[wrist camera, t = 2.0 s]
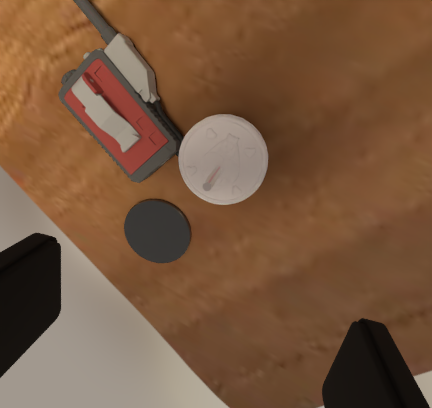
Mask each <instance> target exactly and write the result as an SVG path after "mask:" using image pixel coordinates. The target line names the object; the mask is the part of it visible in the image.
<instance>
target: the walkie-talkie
mask: <svg viewBox="0 0 432 408" xmlns="http://www.w3.org/2000/svg"><path fill="white" fill-rule="evenodd" d="M74 2H75V3H76V4H77V5H78V7H79V8H80V9H81V10H82V11H83V13H84V14H85V15H86V16H87V18H88V19H89V20H90V21H91V22H92V24H93V25H94V26H95V27H96V29H97V30H98V31H99V32H100V34H101V37H102V38H103V40H104V41H105V42H106V43H107V45H108V46H107V47H106V48H105V49H104V51H103V49H102V48H99V49H98V50H97V49H95V50H94V51H93V52H92V53H90V52H87V53H86V54H85V55H84V56H83V58H84V59H85V60H84V61H83V62H82V64H81V65H80V66H79V67H78V69H77V70H75V69H74V70H71V71H69V72H67V73H66V74H65V75H64V76H63V78H62V82H61V83H62V84H63V87H62V88H61V89H60V91H59V99H60V101H61V102H62V103H63V104H64V105H65V106H66V107H67V109H68V110H69V111H70V112H71V113H72V114H73V115H74V117H75V118H76V119H77V120H78V121H79V122H80V123H81V124H82V126H83V127H84V128H85V129H86V130H87V131H88V132H89V133H90V135H92V136H93V137H94V139H95V140H97V141H98V144H100V145H101V146H102V148H104V149H105V152H106V153H108V154H109V156H110V157H112V159H113V161H115V162H116V163H117V165H119V166H120V168H121V169H122V170H123V171H124V173H126V174H127V175H128V178H130V179H131V181H133V182H137V183H140V182H142V181H143V180H145V179H146V178H148V177H149V176H150V175H152V174H153V173H154V172H155V171H156V170H157V169H158V168H160V167H161V166H162V165H163V164H164V163H165V162H166V161H168V160H169V159H170V158H171V157H172V156H173V155H175V154H176V155H177V156H178V157H179V150H180V146H181V143H182V141H183V139H184V137H183V136H182V135H181V133H180V132H179V131H178V130H177V129H176V127H175V126H174V125H173V124H172V122H171V121H170V120H169V119H168V118H167V116H166V115H165V114H164V112H163V110H162V107H161V104H160V102H159V100H160V98H159V97H158V95H157V92H156V83H155V75H154V72H153V70H152V69H151V68H150V67H149V65H148V64H147V63H146V62H145V60H144V59H143V58H142V57H141V55H140V54H139V53H138V52H137V50H136V49H135V48H134V47H133V43H132V42H131V40H130V39H129V38H128V37H127V36H125V35H123V34H121V33H119V34H117V33H116V32H115V31H114V29H113V28H112V27H109V26H108V24H107V23H106V22H105V21H104V19H103V18H102V17H101V16H100V14H99V13H98V12H97V11H96V10H95V8H94V7H93V6H92V5H91V3H90V2H89V1H88V0H74ZM155 105H156V106H155Z"/></svg>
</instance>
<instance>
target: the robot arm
mask: <svg viewBox="0 0 432 408" xmlns="http://www.w3.org/2000/svg"><path fill="white" fill-rule="evenodd" d="M60 311H61V246H60V244H59V243H57V240H56V238H55V237H52V236H48V235H45V234H40V233H34V234H32V235H30V236H28V237H26V238H25V239H23V240H21V241H20V242H18V243H16V244H14V245H12V246H11V247H9V248H7V249H5V250H4V251H2V252H0V378H1V377H2V376H3V374H4V373H5V372H6V371H7V370H8V369H9V368H10V367H11V366H12V365H13V364H14V363H15V362H16V361H17V360H18V359H19V358H20V357H21V356H22V355H23V354H24V353H25V352H26V350H27V349H28V348H29V347H30V346H31V345H32V344H33V343H34V342H35V341H36V340H37V339H38V338H39V337H40V336H41V335H42V334H43V333H44V331H46V330H47V328H49V326H50V325H51V324H52V323H53V322H54V321H55V320H56V319H57V317H58V316H59V313H60ZM322 396H323V402H324V407H325V408H430V407H429V405H428V403H427V401H426V399H425V398H424V396H423V394H422V392H421V390H420V388H419V387H418V385H417V383H416V381H415V380H414V377H413V376H412V374H411V372H410V370H409V368H408V366H407V365H406V363H405V361H404V359H403V357H402V355H401V354H400V352H399V350H398V348H397V346H396V344H395V343H394V341H393V339H392V337H391V335H390V333H389V332H388V330H387V328H386V326H385V325H384V324H382V323H379V322H375V321H372V320H368V319H364V318H361V319H360V320H359V321H358V322H356V321H355V322H353V323H352V324H351V326H350V328H349V330H348V333H347V335H346V337H345V339H344V341H343V343H342V345H341V347H340V349H339V352H338V354H337V356H336V358H335V360H334V362H333V364H332V366H331V369H330V371H329V373H328V375H327V377H326V379H325V381H324V384H323V388H322Z"/></svg>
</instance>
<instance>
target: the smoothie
mask: <svg viewBox="0 0 432 408" xmlns="http://www.w3.org/2000/svg"><path fill="white" fill-rule="evenodd" d="M267 167H268V152H267V147H266V143H265V141H264V139H263V137H262V135H261V134H260V132H259V131H258V130H257V129H256V128H255V127H254V126H253V125H252V124H251V123H249V122H248V121H246V120H245V119H243V118H241V117H237V116H234V115H231V114H217V115H214V116H210V117H207V118H205V119H203V120H201V121H200V122H198V123H197V124H196V125H194V126H193V127H192V128H191V129H190V130H189V131H188V133H187V134H186V135H185V137H184V139H183V141H182V143H181V146H180V150H179V168H180V172H181V175H182V178H183V180H184V182H185V183H186V185H187V186H188V187H189V189H190V190H191V191H192V192H193V193H194V194H196V195H197V196H198V197H200V198H201V199H203V200H205V201H207V202H210V203H214V204H220V205H228V204H234V203H238V202H240V201H243V200H245V199H246V198H248V197H249V196H251V195H252V194H253V193H254V192H255V191H256V190H257V189H258V188H259V186H260V185H261V183H262V181H263V179H264V177H265V174H266V171H267Z"/></svg>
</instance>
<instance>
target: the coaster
mask: <svg viewBox="0 0 432 408" xmlns="http://www.w3.org/2000/svg"><path fill="white" fill-rule="evenodd" d="M124 231H125V236H126V239H127V241H128V243H129V245H130V246H131V248H132V249H133V250H134V251H135V252H136V253H137V254H138V255H140V256H141V257H143V258H144V259H146V260H149V261H151V262H156V263H168V262H172V261H175V260H177V259H178V258H180V257H181V256H182V255H183V254H184V253H185V252H186V250H187V248H188V246H189V244H190V241H191V228H190V225H189V222H188V220H187V218H186V216H185V215H184V214H183V212H182V211H181V210H180V209H179V208H177V207H176V206H175V205H173V204H171V203H169V202H167V201H164V200H159V199H149V200H145V201H142V202H140V203H138V204H137V205H135V206H134V207H133V208H132V209H131V210H130V211H129V213H128V214H127V216H126V219H125V224H124Z"/></svg>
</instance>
